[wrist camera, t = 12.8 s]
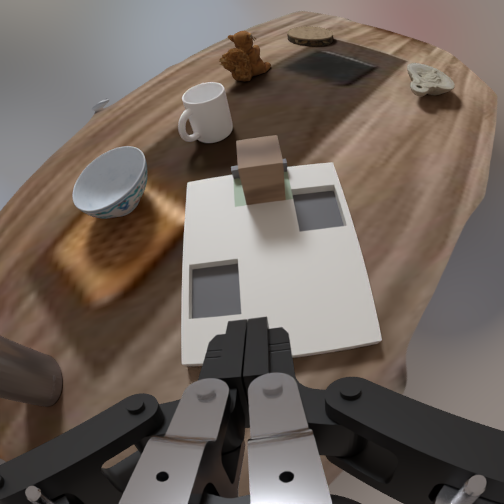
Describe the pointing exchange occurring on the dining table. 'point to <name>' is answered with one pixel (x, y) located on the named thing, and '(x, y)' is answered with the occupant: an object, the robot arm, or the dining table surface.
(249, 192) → the block
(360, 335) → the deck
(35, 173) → the dining table surface
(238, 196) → the pad
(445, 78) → the oil lamp
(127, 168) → the chinaware
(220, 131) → the mug
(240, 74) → the stuffed squirrel
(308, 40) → the wood slice
